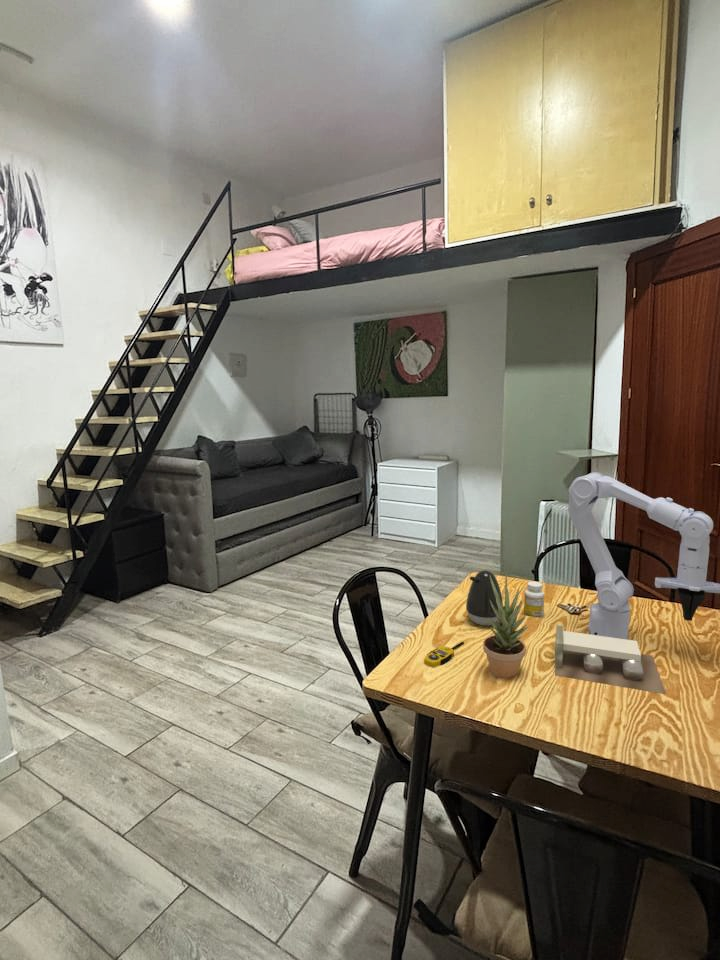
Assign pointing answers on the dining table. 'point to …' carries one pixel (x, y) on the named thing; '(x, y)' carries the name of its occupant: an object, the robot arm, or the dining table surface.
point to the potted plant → (505, 637)
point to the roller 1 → (593, 663)
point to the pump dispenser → (482, 598)
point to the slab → (601, 645)
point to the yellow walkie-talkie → (440, 656)
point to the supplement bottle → (534, 600)
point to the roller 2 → (632, 669)
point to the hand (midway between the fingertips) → (687, 618)
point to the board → (605, 669)
